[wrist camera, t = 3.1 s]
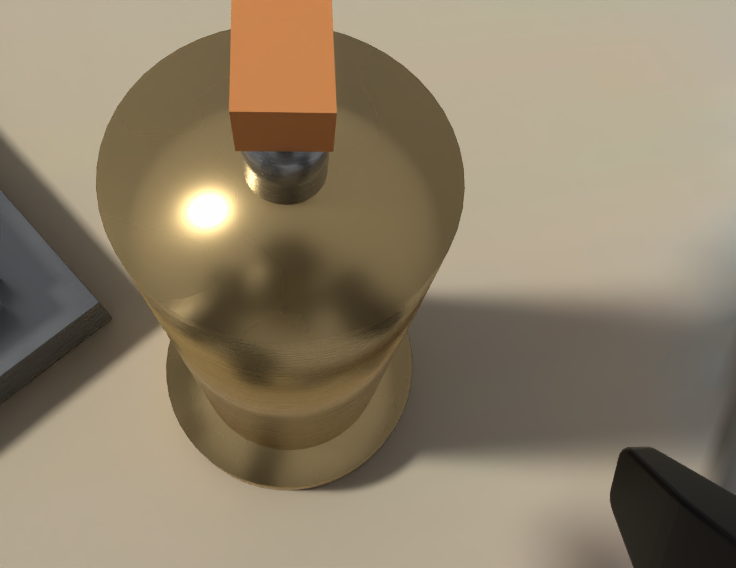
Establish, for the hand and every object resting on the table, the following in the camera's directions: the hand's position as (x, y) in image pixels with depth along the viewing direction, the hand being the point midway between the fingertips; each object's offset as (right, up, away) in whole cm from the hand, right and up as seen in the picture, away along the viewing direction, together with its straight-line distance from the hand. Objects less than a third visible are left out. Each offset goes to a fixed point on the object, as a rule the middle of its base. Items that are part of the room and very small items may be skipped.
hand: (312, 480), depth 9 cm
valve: (-2, 0, +11) cm, 11 cm away
